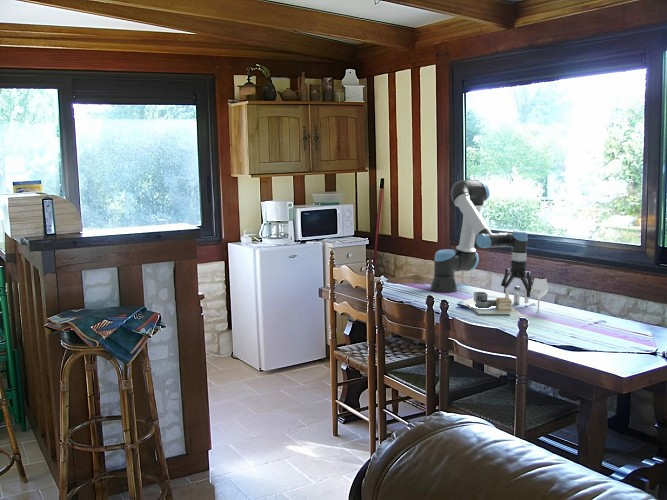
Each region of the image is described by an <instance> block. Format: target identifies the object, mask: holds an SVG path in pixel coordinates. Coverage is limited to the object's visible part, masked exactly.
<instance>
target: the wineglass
mask: <svg viewBox="0 0 667 500" xmlns="http://www.w3.org/2000/svg"><path fill="white" fill-rule="evenodd" d="M532 282H533V283H532V286H531V291H530V292H531V293H532V294H533V295H534V296H535V297H536V298H537V310H536V313H538V314H539V313H541V311H540V300H541V298H543V297H544V296H545V295H547V293H548V291H549V285H548V281H547V278H546V277H545V276H544V277H543V276H535V277H533V279H532Z"/></svg>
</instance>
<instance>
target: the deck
mask: <svg viewBox="0 0 667 500" xmlns="http://www.w3.org/2000/svg"><path fill="white" fill-rule="evenodd" d="M468 308H469V309H470V310H471V311H472V312H473V313H474V314H475V315H476V317H504V318H505V317H509V318H510V317H511V318H512V317H514V318H515V317H517V318H519V317H520V318H523V317H525V315H523V314H522V313H520V311H518V310H516V308H514V307H513V306H512V305H511V312H499V311H498V310H497V309H494V310H479V309H475V308H473V307H469V306H468Z"/></svg>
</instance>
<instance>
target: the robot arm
mask: <svg viewBox="0 0 667 500" xmlns="http://www.w3.org/2000/svg"><path fill="white" fill-rule="evenodd" d="M490 195H491V194H490V187H489V186H488V184H487V182H486V181H484V180H478V179H472V180H470V179H469V180H466V179H464V180H458V181H456V182H455V183H454V184H453V185H452V187H451V190H450V197H451V200H452V202H453V204H454V206H455V207H458V208H459V210H460V212H461V214H462V225H461V231H460V238H459V244H458V245H457V246H456V247H455V249H452V248H451V249H450V248H447V249H446V248H445V249H439V250H437V251H436V252H435V253H434V268H433V270H434V271H433V278H432V281H431V284H430V290H431V291H433V292H438V293H454V292H457V289H458V287H457V283H456V279H455V272H468V271H473V270H474V269H476V268H477V267H478V264H479V260H480V257H479V253H478V252H477V249H476V248H475V243H476V245H477V247H479V248H482V249H489V248H492V249H493V248H511V261H510V267H511V268H509V267H508V268H505V273H504V276H503V277H502V281H501V284H500V286H502V287H503V294H504V298H509V299H510V287H509V286H510V284H511V283H512V282H513V280H514V279H515V278H517V279H520V280H521V282H522V284H523V286H524V288H525V291H524V304H525V305H526V304H529V300H530V299H529V298H530V297H531V292H532V291H531V286H532V283H533V277H532V271H530V270H529V271H527V270H526V267H527V250H528V249H527V248H528V241H529V239H528V232H527V231H526V230H514V231H513V232H512V233H511V232H507V231H500V232H496V233H495V232H494V233H493V232H492V231H491V229H490V228H489V227H488V225H487V223H486V222H485V219H483V216H482V215H481V214H480V210H481V208H482V207H483V206H484V203H485V202H486V201H487V200H488V199H489V198H490ZM510 273H511V274H510Z"/></svg>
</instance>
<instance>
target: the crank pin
mask: <svg viewBox="0 0 667 500" xmlns="http://www.w3.org/2000/svg"><path fill="white" fill-rule="evenodd" d="M513 289H514V291H513V305H515V306H519V305H520V299H521V298H520V297H521V286H519V285H514V287H513Z"/></svg>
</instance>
